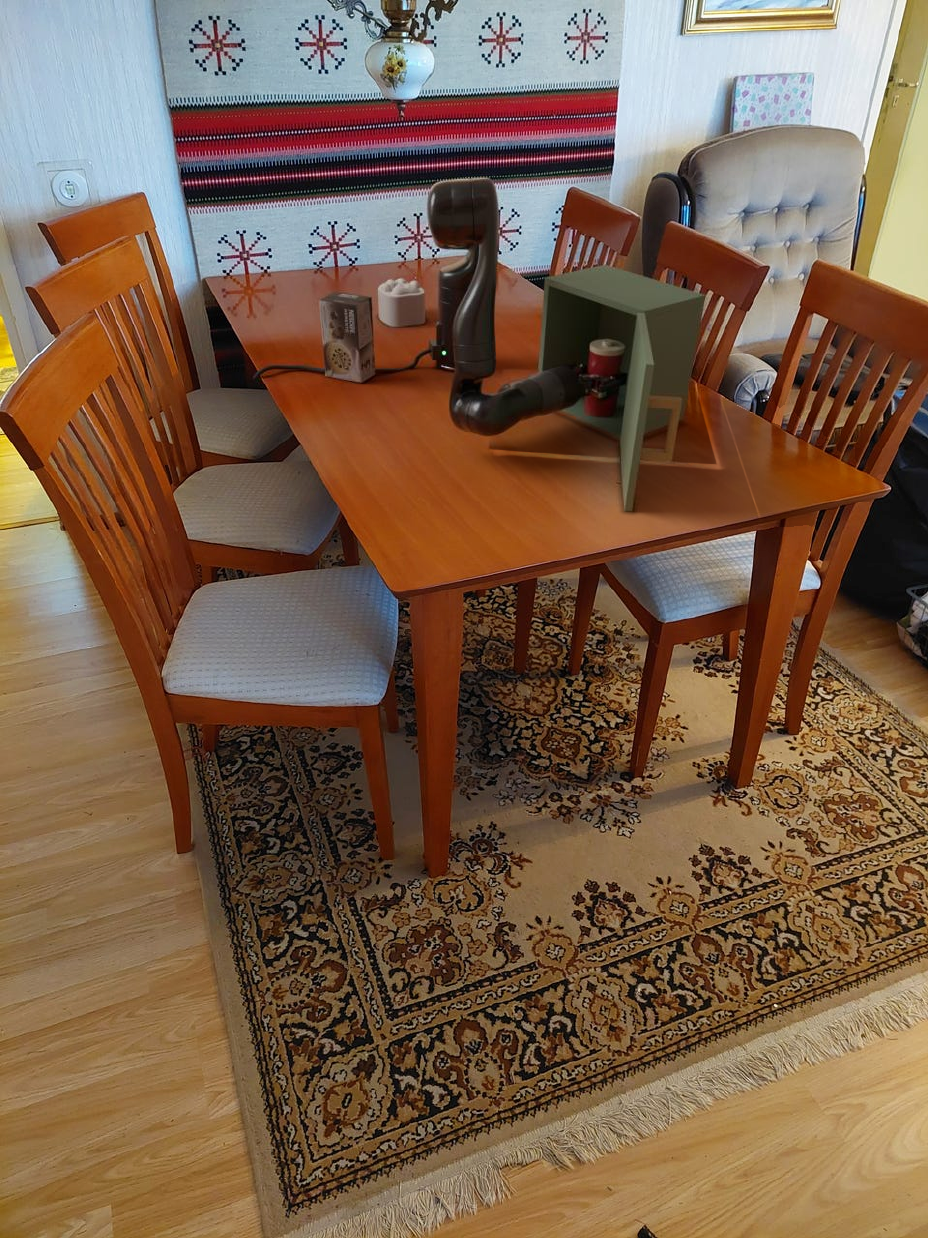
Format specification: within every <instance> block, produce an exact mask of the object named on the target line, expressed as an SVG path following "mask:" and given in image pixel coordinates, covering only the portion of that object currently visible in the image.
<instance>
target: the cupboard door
mask: <svg viewBox="0 0 928 1238" xmlns="http://www.w3.org/2000/svg"><path fill="white" fill-rule="evenodd" d="M653 370H654V361H653V356H652V350H651V345H650V339H649V334H648V329H647V323H646V318H645V313H637V320H636V327H635V335H634V342H633V350H632V357H631V364H630V372H629V379H628V386H627V394H626V401H625V408H624V416H623V423H622V431H621V437H619V438H620V439H619V446H620V447H619V448H620V458H619V459H620V460H619V461H620V471H621V483H622V484H621V486H622V497H623V499H622V500H623V509H624V510H623V511H624V512H633V508H634V499H635V494H636V488H637V482H638V481H637V480H638V475H639V467H640V461H641V460H642V461H657V462H672V460H673V455H674V450H675V446H676V445H675V444H676V438H677V432H678V426H679V422H680V421H679V416H680V410H681V405H682V398H680V397H668V396H652V395H650V389H651V383H652V376H653ZM648 407H650V408H666V409H671V413H670V419H669V425H667V431H666V437H665V444H664V448H651V447H650V448H649V447H643V441H644V435H645V434H644V429H645V422H646V416H647V409H648Z"/></svg>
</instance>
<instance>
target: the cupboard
mask: <svg viewBox="0 0 928 1238" xmlns="http://www.w3.org/2000/svg"><path fill="white" fill-rule="evenodd" d="M543 287H544V288H543V300H542V312H541V313H542V314H541V328H540V341H539V355H538V357H539V358H538V369H537V373H539V372H543V371H546V370H549V369H550V367H551V366H556V365H560V364H565V363H570V362H576V365H579V364H584V365H588V364H589V354H590V343H591V342H592V341H595V340H600V339H611V340H615V341H618V342H621V343H623V344H624V346H625V348H624V353H623V359H622V367H621V373H623V372H625V373H627V374H628V376H627V383H626V384H625V385H622V386H619V393H618V397H617V405H616V412H615V414H614V415H613V416H610V417H593V416H590V415H588V414H586V413H585V412H584V410H583V409H584V400H585V397H581V398H580V399H579V400H578V401H577V403H576V404H575V405H574V406H572V407H569V408H566V409H563V410H562V412H564V413H567V414H569V415H572V416H573V417H575V418H578V419H580V420H582V421H584V422H587V423H589V424H591V425H593V426H594V427H597V428H599V429H601V430H603V431H606V432H608V433H610V434H612V435H615V436H616V437H618V438H621V431H622V423H623V416H624V408H625V401H626V394H627V386H628V379H629V372H630V364H631V357H632V350H633V342H634V335H635V327H636V320H637V313H645V318H646V323H647V329H648V334H649V339H650V345H651V350H652V356H653V361H654V370H653V376H652V383H651V389H650V395H652V396H668V397H680V398H682V405H681V410H680V416H679V422H680V421H683V420H684V418H685V413H686V406H687V403H688V402H687V401H688V397H689V391H690V386H691V385H690V384H691V380H692V374H693V368H694V362H695V358H696V352H697V347H698V341H699V340H698V339H699V334H700V328H701V323H702V318H703V312H704V306H705V301H706V294H703V293H700V292H696V291H694V290H691V289H687V288H684V287H681V286H676V285H674V284H671V283H668V282H664V281H660V280H657V279H654V278H650V277H647V276H644V275H641V274H637V273H634V272H631V271H628V270H624V269H622V268H617V267H615V266H611V265H608V264H603V265H598V266H592V267H589V268H583V269H578V270H574V271H570V272H564V273H560V274H556V275H550V276H545V277H544V286H543ZM670 413H671V409H666V408H650V407H648V409H647V416H646V422H645V429H644V435H645V434H647V433H650V432H653V431H656V430H658V429H661V428H663V427H666V426H667V427H668V425H669V419H670Z"/></svg>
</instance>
